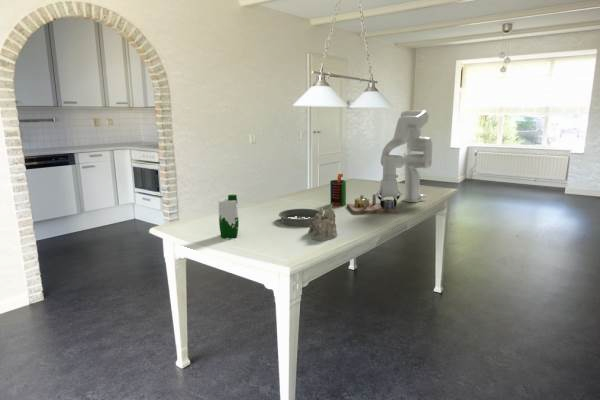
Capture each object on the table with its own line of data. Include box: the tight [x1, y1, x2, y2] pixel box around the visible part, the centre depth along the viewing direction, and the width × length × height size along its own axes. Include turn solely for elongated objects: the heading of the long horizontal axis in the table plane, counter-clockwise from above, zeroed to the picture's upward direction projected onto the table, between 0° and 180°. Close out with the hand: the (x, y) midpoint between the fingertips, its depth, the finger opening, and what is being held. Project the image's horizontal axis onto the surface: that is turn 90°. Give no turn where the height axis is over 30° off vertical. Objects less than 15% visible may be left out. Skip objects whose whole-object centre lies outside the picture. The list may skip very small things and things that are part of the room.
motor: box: [329, 173, 347, 207], centre depth 264 cm, size 10×9×20 cm
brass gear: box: [354, 197, 370, 207], centre depth 253 cm, size 9×9×4 cm
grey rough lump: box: [307, 204, 338, 242], centre depth 196 cm, size 16×16×15 cm
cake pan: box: [278, 208, 319, 227], centre depth 225 cm, size 25×25×4 cm
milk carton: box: [218, 194, 239, 239], centre depth 196 cm, size 9×9×20 cm
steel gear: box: [383, 199, 395, 209], centre depth 245 cm, size 7×7×4 cm
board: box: [346, 193, 398, 215], centre depth 249 cm, size 26×20×8 cm
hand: (388, 206), depth 246 cm, fingers closed on steel gear, 6 cm apart
